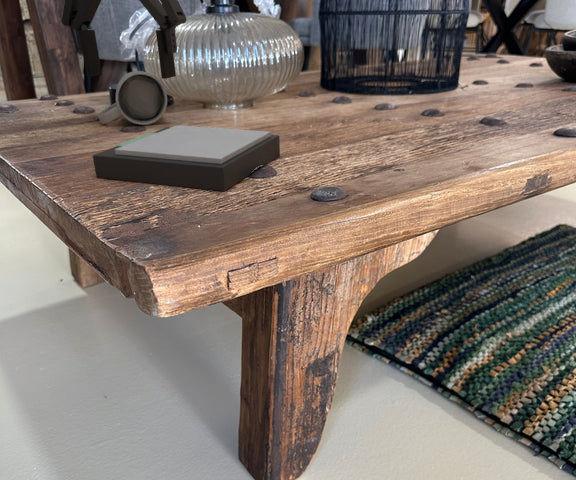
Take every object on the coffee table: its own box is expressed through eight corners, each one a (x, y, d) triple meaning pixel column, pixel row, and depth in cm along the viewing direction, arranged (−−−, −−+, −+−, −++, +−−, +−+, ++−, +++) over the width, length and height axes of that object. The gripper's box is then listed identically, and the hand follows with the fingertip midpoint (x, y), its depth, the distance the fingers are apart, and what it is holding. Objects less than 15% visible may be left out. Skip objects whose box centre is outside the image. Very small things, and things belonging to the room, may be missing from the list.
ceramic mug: (164, 113, 96) (157, 65, 92) (170, 123, 89) (164, 70, 85) (98, 120, 93) (89, 70, 89) (100, 130, 86) (90, 76, 82)
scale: (96, 177, 63) (91, 149, 62) (168, 146, 76) (165, 122, 74) (224, 191, 58) (222, 161, 57) (280, 155, 70) (279, 130, 69)
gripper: (14, -84, 79) (49, 78, 89) (170, -100, 70) (189, 81, 80) (53, -80, 85) (81, 72, 95) (200, -93, 76) (214, 74, 86)
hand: (130, 76), depth 87 cm, fingers open, 13 cm apart
